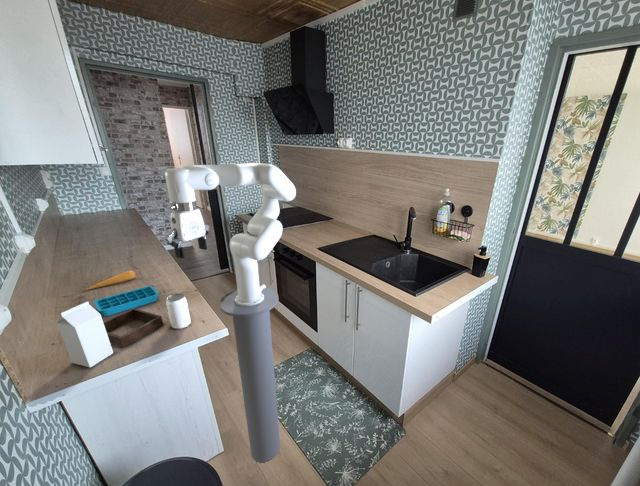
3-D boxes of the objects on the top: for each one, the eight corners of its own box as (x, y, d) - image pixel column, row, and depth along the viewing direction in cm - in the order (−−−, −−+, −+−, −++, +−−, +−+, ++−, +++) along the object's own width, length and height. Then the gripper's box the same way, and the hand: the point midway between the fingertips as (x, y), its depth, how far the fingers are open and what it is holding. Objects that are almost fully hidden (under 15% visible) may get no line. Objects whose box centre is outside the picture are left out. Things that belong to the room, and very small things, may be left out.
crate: (135, 316, 115) (133, 307, 114) (163, 324, 111) (161, 316, 110) (93, 337, 102) (90, 328, 101) (123, 348, 98) (120, 338, 97)
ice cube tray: (161, 300, 127) (159, 294, 126) (101, 318, 113) (98, 311, 111) (152, 291, 134) (151, 285, 133) (94, 307, 119) (92, 300, 118)
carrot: (136, 277, 146) (131, 269, 145) (137, 277, 143) (133, 268, 142) (84, 295, 132) (79, 286, 131) (85, 295, 129) (80, 286, 128)
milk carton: (113, 353, 96) (97, 303, 89) (90, 368, 89) (70, 315, 82) (96, 349, 97) (78, 299, 90) (72, 363, 91) (51, 311, 83)
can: (184, 318, 116) (178, 291, 111) (194, 322, 113) (189, 295, 109) (167, 326, 110) (161, 298, 106) (178, 331, 108) (172, 303, 103)
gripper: (169, 212, 90) (179, 263, 97) (212, 203, 106) (219, 247, 112) (151, 209, 92) (162, 259, 99) (196, 201, 108) (203, 244, 114)
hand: (192, 253), depth 105 cm, fingers open, 9 cm apart
